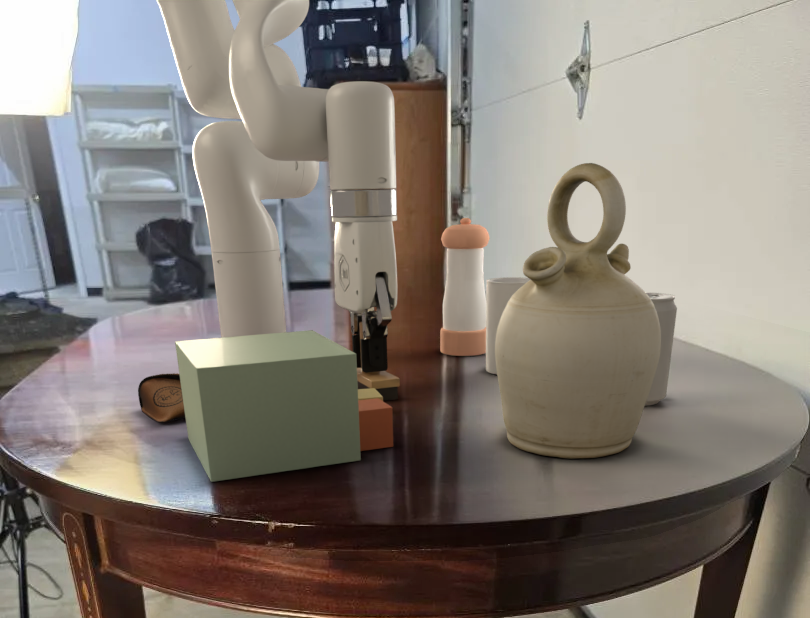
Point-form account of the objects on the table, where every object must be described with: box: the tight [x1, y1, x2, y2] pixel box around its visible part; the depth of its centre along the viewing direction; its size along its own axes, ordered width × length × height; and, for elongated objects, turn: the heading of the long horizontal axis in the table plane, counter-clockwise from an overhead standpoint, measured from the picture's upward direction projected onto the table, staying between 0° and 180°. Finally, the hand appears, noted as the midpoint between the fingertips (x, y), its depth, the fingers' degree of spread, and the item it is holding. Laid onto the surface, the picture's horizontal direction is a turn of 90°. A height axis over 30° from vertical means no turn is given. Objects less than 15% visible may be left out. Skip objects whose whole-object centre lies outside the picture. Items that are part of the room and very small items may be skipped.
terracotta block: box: [358, 398, 394, 452], centre depth 77 cm, size 4×4×4 cm
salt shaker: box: [439, 217, 491, 357], centre depth 116 cm, size 7×7×19 cm
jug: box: [495, 162, 661, 460], centre depth 72 cm, size 15×16×25 cm
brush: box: [357, 322, 401, 402], centre depth 95 cm, size 10×4×9 cm, turn 23°
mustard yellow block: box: [358, 388, 384, 402], centre depth 81 cm, size 4×4×4 cm
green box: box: [174, 329, 362, 483], centre depth 75 cm, size 16×14×10 cm
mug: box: [485, 276, 531, 375], centre depth 105 cm, size 10×7×12 cm, turn 119°
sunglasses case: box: [137, 372, 186, 423], centre depth 92 cm, size 18×7×7 cm
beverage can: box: [644, 292, 678, 407], centre depth 89 cm, size 6×6×12 cm
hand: (370, 367), depth 96 cm, fingers closed on brush, 2 cm apart
